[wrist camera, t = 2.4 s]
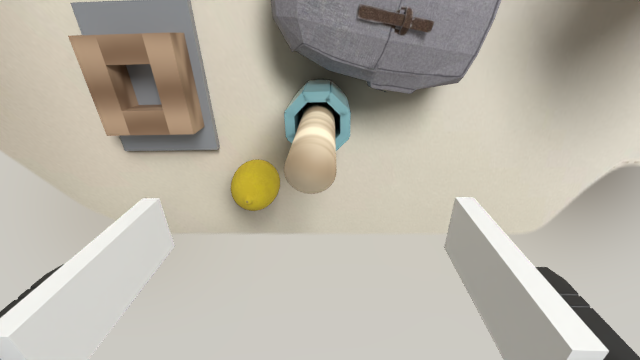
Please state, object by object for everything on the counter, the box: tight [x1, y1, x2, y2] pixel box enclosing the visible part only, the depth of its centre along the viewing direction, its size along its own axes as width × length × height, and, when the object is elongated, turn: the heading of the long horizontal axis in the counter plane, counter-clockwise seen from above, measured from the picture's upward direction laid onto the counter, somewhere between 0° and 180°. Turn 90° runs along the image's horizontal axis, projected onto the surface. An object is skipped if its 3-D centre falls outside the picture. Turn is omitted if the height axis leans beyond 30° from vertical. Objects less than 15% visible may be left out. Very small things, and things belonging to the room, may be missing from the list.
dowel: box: [284, 102, 336, 194], centre depth 25 cm, size 3×3×17 cm
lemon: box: [231, 160, 280, 211], centre depth 34 cm, size 6×6×8 cm
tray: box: [71, 0, 220, 151], centre depth 32 cm, size 16×12×1 cm
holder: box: [68, 33, 205, 136], centre depth 30 cm, size 10×10×3 cm
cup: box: [284, 79, 351, 151], centre depth 29 cm, size 6×6×8 cm
